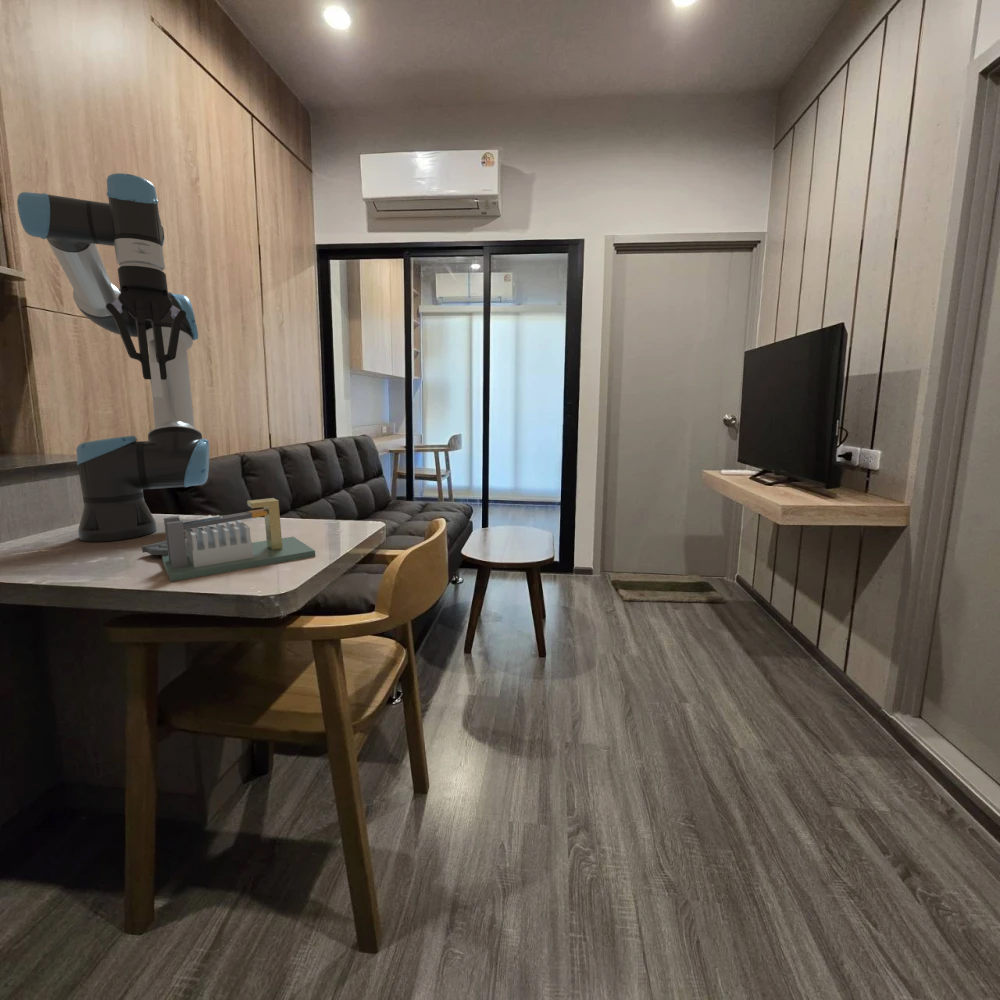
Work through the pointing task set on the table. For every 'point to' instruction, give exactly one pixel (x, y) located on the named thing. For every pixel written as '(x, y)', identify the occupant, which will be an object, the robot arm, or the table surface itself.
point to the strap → (224, 519)
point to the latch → (270, 521)
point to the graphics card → (159, 548)
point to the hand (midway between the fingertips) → (157, 396)
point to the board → (258, 560)
